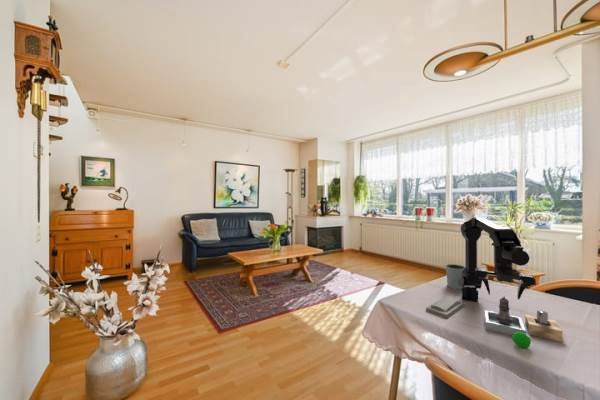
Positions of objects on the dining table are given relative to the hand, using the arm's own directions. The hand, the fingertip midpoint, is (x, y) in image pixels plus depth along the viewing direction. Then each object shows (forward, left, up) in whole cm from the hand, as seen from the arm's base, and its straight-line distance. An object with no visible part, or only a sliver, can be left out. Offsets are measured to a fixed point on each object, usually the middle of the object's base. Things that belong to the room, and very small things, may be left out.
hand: (503, 296), depth 100 cm
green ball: (+4, -13, -13) cm, 19 cm away
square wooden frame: (+12, +3, -12) cm, 18 cm away
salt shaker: (0, 0, -12) cm, 12 cm away
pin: (+12, +3, -12) cm, 18 cm away
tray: (0, 0, -12) cm, 12 cm away
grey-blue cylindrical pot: (-19, +41, -13) cm, 47 cm away
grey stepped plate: (-21, +7, -13) cm, 26 cm away
